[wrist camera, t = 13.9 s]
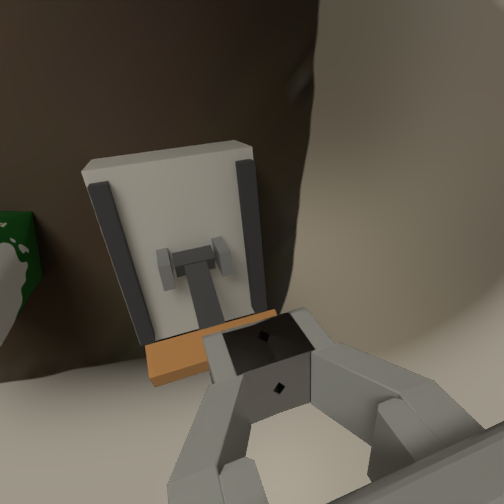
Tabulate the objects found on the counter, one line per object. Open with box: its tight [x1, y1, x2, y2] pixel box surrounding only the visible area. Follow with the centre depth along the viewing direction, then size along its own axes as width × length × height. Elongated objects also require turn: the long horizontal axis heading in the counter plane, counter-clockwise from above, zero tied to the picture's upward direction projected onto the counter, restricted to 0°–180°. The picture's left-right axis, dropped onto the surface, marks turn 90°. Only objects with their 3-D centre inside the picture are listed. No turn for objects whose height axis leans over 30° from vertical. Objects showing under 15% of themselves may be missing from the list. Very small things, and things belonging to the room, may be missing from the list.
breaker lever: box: [145, 245, 277, 387], centre depth 26 cm, size 2×10×10 cm, turn 95°
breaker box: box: [81, 140, 255, 341], centre depth 31 cm, size 18×14×10 cm
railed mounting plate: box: [87, 159, 267, 346], centre depth 29 cm, size 16×13×1 cm
